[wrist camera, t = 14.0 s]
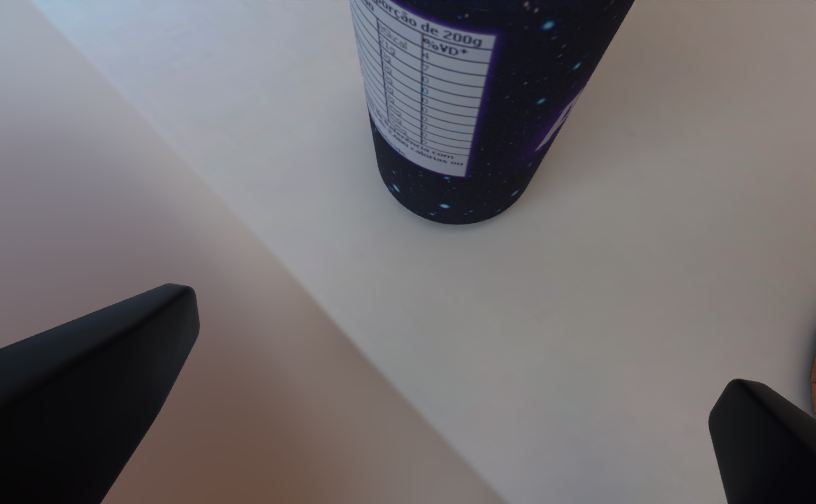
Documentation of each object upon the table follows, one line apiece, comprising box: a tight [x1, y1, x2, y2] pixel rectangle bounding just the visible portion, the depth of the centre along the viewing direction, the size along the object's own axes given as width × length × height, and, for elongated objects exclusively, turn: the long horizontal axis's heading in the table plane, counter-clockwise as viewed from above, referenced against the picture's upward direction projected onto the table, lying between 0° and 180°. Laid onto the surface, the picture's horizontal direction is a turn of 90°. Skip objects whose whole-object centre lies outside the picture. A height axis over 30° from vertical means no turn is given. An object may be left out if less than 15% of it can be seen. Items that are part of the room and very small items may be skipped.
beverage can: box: [349, 0, 635, 225], centre depth 12 cm, size 6×6×12 cm
